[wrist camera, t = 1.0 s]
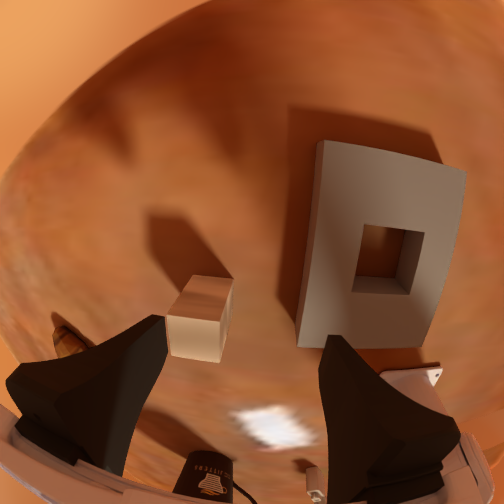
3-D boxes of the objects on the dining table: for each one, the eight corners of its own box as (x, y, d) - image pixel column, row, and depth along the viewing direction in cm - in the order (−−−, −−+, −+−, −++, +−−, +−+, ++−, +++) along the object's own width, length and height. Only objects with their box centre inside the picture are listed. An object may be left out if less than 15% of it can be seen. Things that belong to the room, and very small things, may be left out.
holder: (408, 327, 21) (421, 346, 19) (295, 324, 22) (297, 346, 19) (445, 168, 17) (466, 171, 14) (316, 142, 17) (324, 139, 15)
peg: (232, 314, 22) (219, 363, 17) (194, 310, 22) (171, 355, 17) (233, 278, 21) (219, 321, 16) (192, 274, 21) (166, 314, 16)
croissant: (50, 331, 26) (27, 354, 21) (74, 312, 24) (47, 337, 20) (121, 410, 29) (107, 436, 24) (154, 401, 27) (140, 433, 23)
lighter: (305, 468, 30) (306, 513, 23) (317, 466, 30) (319, 511, 22) (317, 482, 32) (319, 521, 25) (327, 480, 32) (330, 519, 24)
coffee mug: (169, 452, 31) (152, 506, 22) (208, 441, 29) (193, 505, 20) (225, 482, 33) (217, 530, 24) (266, 472, 31) (262, 527, 22)
